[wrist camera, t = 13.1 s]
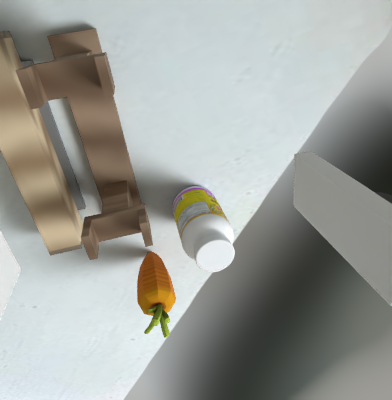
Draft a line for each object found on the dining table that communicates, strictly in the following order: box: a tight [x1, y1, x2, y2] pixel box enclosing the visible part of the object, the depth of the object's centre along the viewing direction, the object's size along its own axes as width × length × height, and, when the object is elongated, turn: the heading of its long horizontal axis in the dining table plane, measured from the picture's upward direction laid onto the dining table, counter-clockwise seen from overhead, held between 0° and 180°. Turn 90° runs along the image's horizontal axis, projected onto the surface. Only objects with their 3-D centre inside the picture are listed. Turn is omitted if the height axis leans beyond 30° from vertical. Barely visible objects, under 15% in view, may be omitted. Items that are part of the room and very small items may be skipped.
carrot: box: [137, 252, 176, 337], centre depth 44 cm, size 5×5×15 cm
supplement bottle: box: [173, 186, 235, 272], centre depth 42 cm, size 7×7×13 cm
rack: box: [15, 29, 153, 260], centre depth 35 cm, size 23×7×12 cm, turn 9°
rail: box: [0, 31, 83, 255], centre depth 37 cm, size 25×4×4 cm, turn 9°
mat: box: [21, 60, 86, 210], centre depth 39 cm, size 19×6×1 cm, turn 9°
